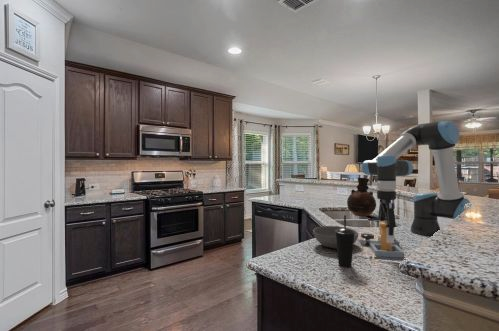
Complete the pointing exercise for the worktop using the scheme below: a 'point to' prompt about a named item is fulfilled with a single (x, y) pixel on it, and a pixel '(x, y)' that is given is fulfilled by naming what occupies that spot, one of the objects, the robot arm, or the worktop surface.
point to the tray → (387, 252)
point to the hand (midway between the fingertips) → (386, 238)
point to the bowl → (329, 235)
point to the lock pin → (384, 237)
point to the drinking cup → (345, 245)
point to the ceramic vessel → (361, 199)
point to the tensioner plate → (367, 241)
